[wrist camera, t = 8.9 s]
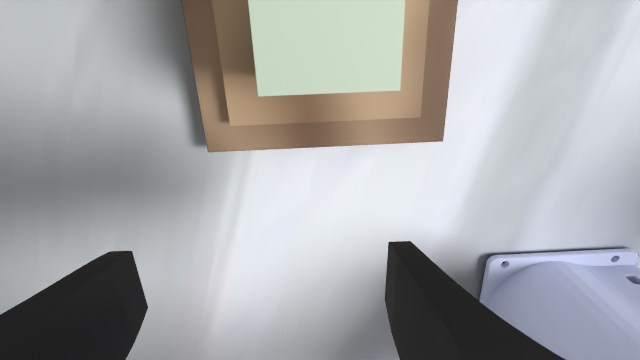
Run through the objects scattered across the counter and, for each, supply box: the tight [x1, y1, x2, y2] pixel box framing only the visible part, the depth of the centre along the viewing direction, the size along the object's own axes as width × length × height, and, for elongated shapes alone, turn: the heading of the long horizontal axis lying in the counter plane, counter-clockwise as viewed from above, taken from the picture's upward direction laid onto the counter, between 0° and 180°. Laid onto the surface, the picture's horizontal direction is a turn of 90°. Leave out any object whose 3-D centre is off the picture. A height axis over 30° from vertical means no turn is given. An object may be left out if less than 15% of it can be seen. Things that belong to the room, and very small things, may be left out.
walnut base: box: [181, 0, 458, 152], centre depth 16 cm, size 12×12×2 cm
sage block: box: [248, 0, 405, 96], centre depth 12 cm, size 4×4×5 cm
